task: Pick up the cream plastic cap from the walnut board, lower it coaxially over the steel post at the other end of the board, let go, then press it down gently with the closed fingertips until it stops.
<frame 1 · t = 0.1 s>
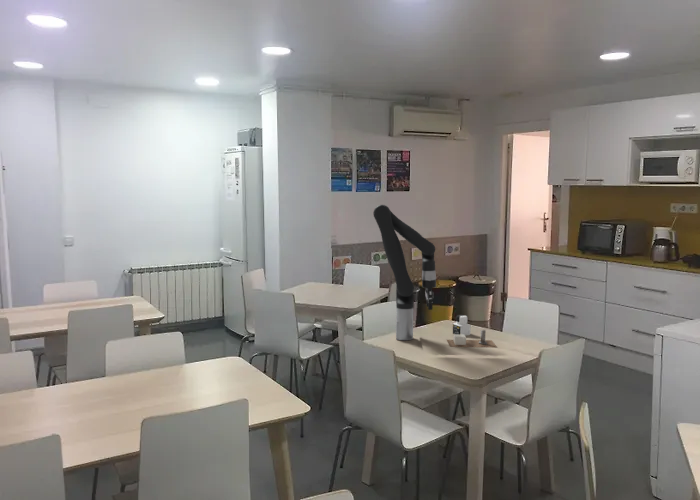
hand: (429, 308, 304), 17 cm above the table, tool pointing down, fingers open, 8 cm apart
post board: (471, 346, 291), on the table
cap: (459, 343, 291), point 1 cm above the table, touching post board
medicine bottle: (461, 336, 311), on the table
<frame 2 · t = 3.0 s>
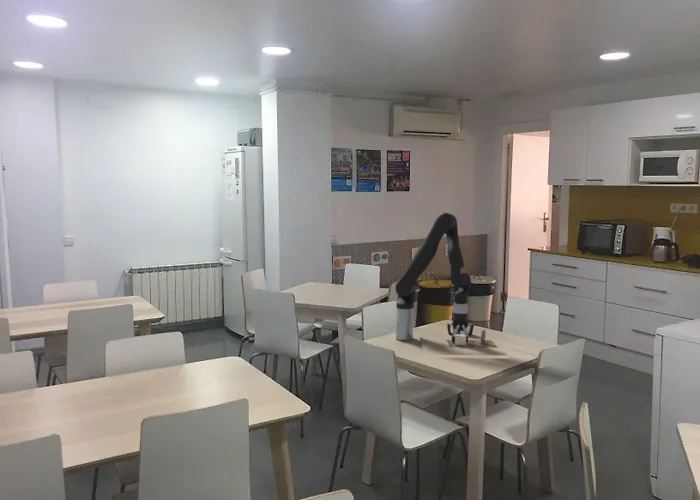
hand: (459, 343, 291), 2 cm above the table, tool pointing down, fingers closed on cap, 5 cm apart
cap: (459, 343, 291), point 2 cm above the table, touching gripper
everything else where it was.
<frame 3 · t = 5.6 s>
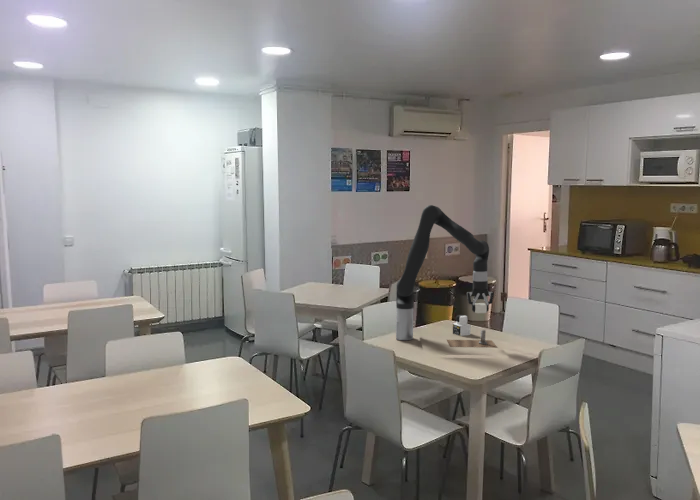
hand: (480, 311, 289), 18 cm above the table, tool pointing down, fingers closed on cap, 5 cm apart
cap: (480, 311, 289), point 18 cm above the table, touching gripper
everything else where it was.
when the fingers open (6 cm above the table, at t = 8.1 s): cap drops 1 cm, resting on post board.
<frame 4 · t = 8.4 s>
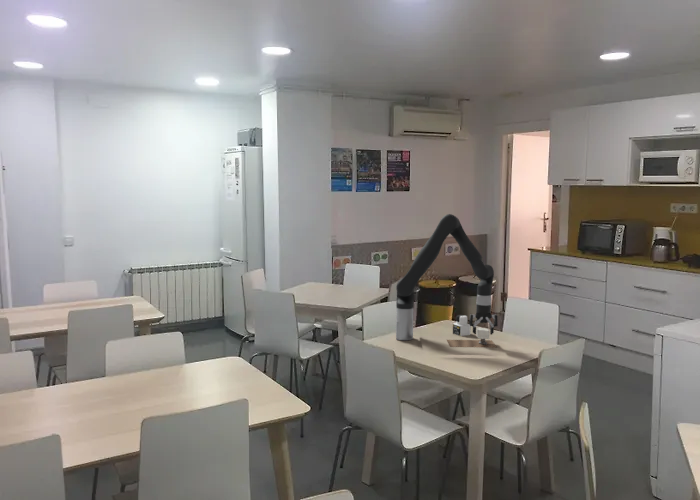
hand: (483, 334, 290), 7 cm above the table, tool pointing down, fingers open, 8 cm apart
cap: (482, 337, 291), point 5 cm above the table, touching post board
everything else where it was.
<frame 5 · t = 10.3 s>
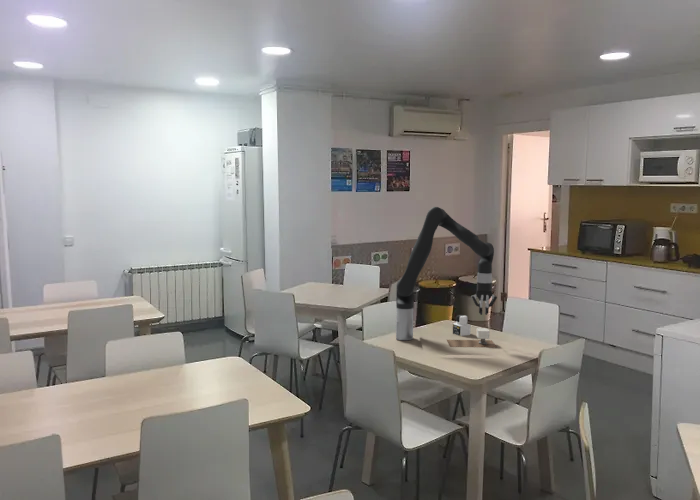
hand: (483, 314, 289), 17 cm above the table, tool pointing down, fingers closed
nothing on the table moved.
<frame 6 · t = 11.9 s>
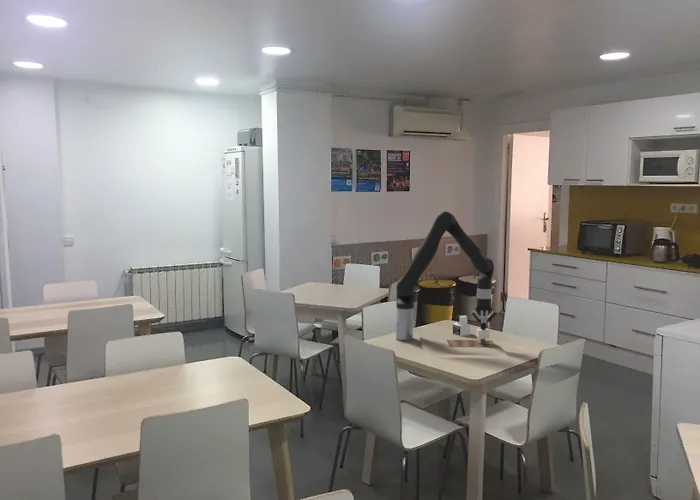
hand: (483, 329, 290), 9 cm above the table, tool pointing down, fingers closed
cap: (482, 337, 291), point 5 cm above the table, touching gripper, post board
everything else where it was.
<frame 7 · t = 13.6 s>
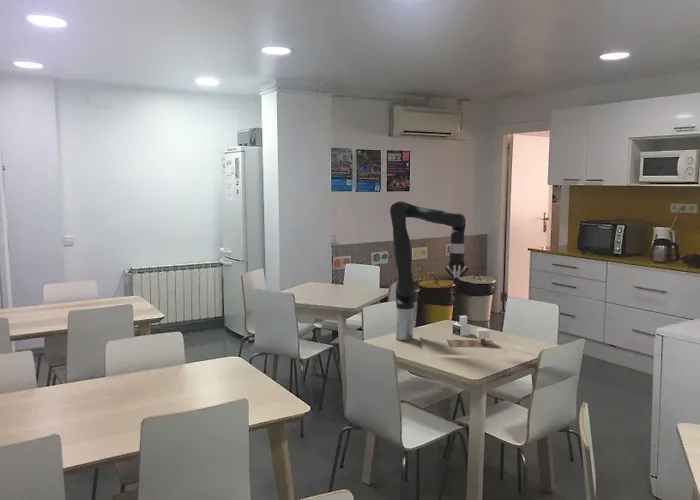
hand: (456, 284, 292), 32 cm above the table, tool pointing down, fingers closed
cap: (482, 337, 291), point 5 cm above the table, touching post board
everything else where it was.
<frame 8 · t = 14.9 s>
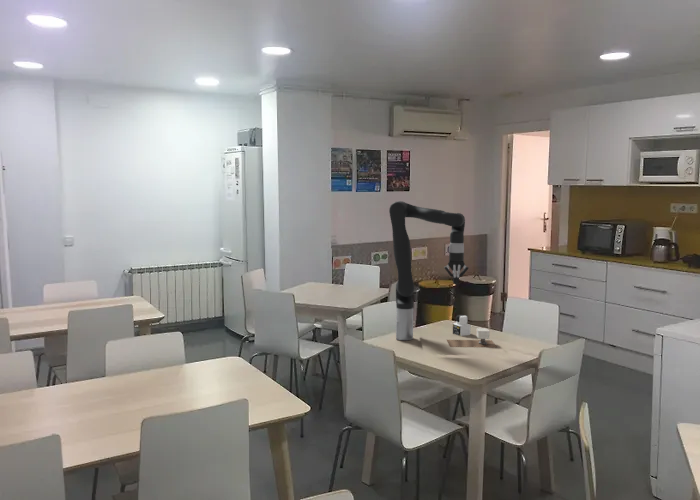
hand: (455, 284, 292), 32 cm above the table, tool pointing down, fingers closed
nothing on the table moved.
at the end: cap 0.1 cm from the target spot, point 4.9 cm above the table; cap tilted 0°; the gripper is holding nothing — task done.
